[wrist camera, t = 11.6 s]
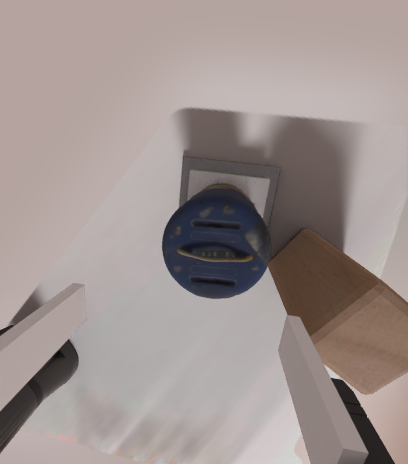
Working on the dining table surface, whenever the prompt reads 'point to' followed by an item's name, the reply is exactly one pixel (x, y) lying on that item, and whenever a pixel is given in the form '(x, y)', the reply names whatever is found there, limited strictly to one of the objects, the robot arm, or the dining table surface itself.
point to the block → (343, 311)
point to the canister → (217, 243)
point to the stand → (231, 181)
